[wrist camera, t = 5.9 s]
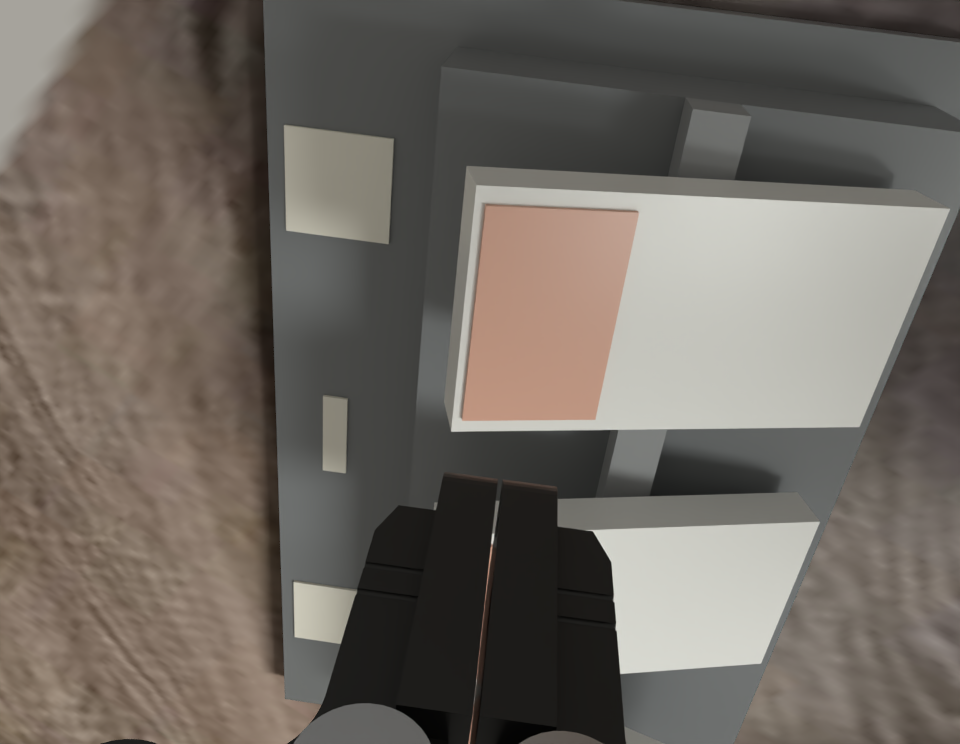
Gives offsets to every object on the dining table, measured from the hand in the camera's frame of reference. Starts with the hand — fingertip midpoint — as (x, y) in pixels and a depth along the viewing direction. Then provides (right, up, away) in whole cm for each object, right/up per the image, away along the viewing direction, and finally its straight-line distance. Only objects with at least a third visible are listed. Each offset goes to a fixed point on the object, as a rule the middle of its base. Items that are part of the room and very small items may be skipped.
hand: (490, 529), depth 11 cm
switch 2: (+3, -4, +11) cm, 12 cm away
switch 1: (+4, +4, +7) cm, 9 cm away
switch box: (+2, 0, +17) cm, 17 cm away
